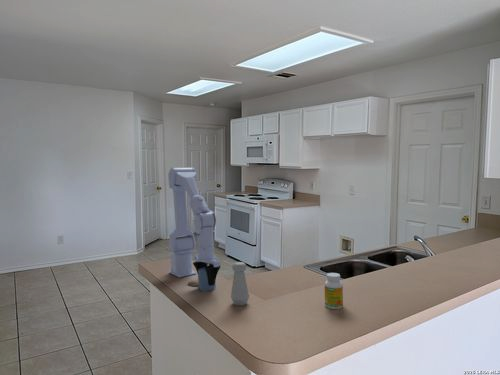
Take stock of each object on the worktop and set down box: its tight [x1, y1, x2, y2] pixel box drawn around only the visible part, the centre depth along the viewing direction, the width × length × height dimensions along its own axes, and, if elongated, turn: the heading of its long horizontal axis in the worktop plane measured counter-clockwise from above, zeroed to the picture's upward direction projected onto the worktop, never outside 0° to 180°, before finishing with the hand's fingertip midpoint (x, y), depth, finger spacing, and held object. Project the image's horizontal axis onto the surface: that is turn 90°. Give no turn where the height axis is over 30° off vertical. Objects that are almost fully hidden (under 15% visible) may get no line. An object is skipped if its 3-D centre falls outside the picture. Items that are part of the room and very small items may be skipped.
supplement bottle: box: [324, 272, 344, 310], centre depth 107 cm, size 5×5×10 cm
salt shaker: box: [230, 261, 250, 307], centre depth 111 cm, size 6×6×13 cm
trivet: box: [187, 279, 198, 287], centre depth 133 cm, size 7×7×1 cm
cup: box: [197, 267, 217, 292], centre depth 127 cm, size 6×6×7 cm
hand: (207, 282), depth 127 cm, fingers closed on cup, 6 cm apart
